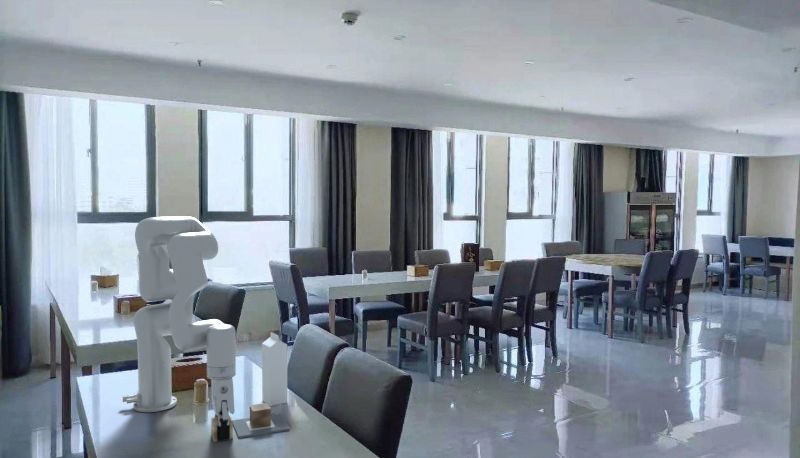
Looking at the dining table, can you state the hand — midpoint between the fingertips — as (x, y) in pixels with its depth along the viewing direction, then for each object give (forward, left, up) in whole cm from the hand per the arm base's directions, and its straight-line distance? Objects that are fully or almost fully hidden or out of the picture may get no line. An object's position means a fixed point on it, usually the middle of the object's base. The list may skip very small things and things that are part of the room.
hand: (222, 434), depth 160 cm
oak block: (0, 0, -1) cm, 1 cm away
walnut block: (+11, +3, 0) cm, 11 cm away
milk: (+19, +21, -1) cm, 28 cm away
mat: (+11, +3, -1) cm, 11 cm away
